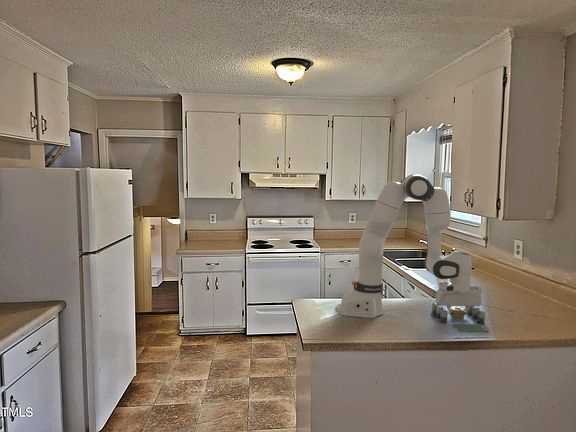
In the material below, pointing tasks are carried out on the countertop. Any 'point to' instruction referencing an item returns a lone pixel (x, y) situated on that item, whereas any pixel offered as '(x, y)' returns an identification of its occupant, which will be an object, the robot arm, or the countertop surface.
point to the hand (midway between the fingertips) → (457, 314)
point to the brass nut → (457, 313)
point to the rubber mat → (469, 328)
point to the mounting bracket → (440, 281)
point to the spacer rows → (472, 312)
